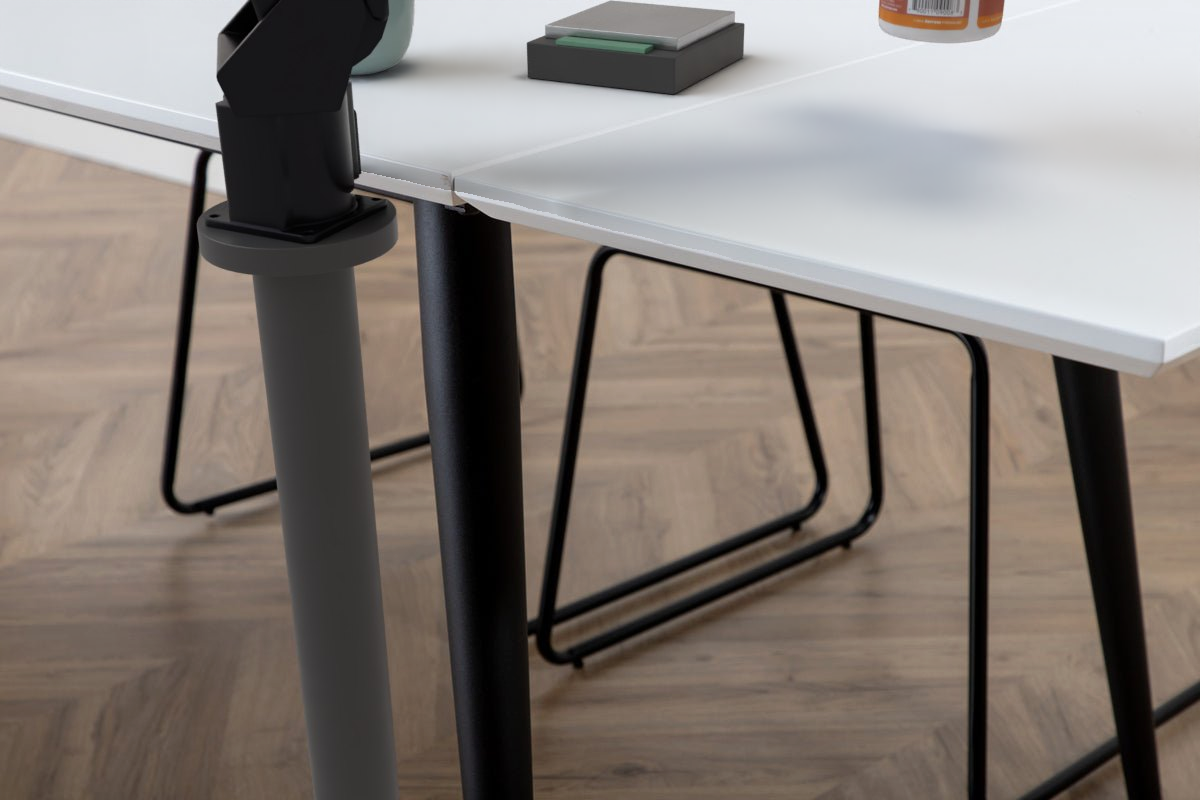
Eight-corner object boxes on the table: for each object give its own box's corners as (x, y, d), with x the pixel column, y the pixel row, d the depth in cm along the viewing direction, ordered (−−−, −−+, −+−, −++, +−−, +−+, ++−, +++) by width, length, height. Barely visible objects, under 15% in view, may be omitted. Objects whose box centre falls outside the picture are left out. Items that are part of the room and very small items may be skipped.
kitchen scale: (674, 94, 86) (675, 43, 85) (527, 77, 90) (525, 29, 89) (743, 57, 95) (745, 10, 94) (606, 43, 99) (606, -2, 98)
